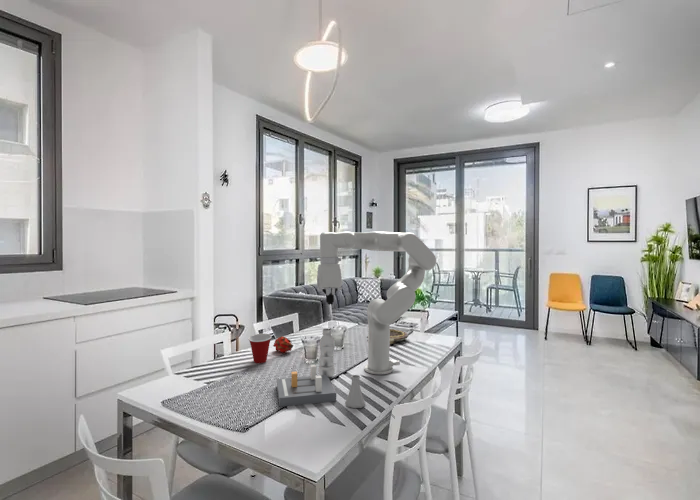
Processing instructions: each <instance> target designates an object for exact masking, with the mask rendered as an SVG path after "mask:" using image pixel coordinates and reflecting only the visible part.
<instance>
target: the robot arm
mask: <svg viewBox="0 0 700 500" xmlns="http://www.w3.org/2000/svg"><path fill="white" fill-rule="evenodd" d="M339 249H341V250H342V249H344V250H351V249H352V250H368V251H374V252H375V251H376V252H405V253H407V254H408V259H407V260H408V263H407V264H408V267H407V270H406V272H405V273H404V275H402V277H401V278H399V279H398V280H397V281H396V282H395V283H393V284H392V285H391V286H390V287H389V288H388V289H387V291H386V297H387V299H386V300H384V299H382V298H374V299H372V300H371V301H369V304H368V305H367V309H366V313H367V327H368V330H367V333H368V335H367V336H368V337H367V364H365V365H364V367H363V368H364V369H363V370H364V371H365V372H366V373H368V374H371V375H378V376H379V375H388V374H391V373H392V372H394V371H393V369H394V368H393V367H394V366H400V365H401V363H400V360H395V359H390V349H391V348H390V347H391V344H390V329H391V327H390V325H391V324H393V323H395V322H396V321H397V320H398V319H400V318H401V317H402V316H403V315H404V314H405V313H406V312H407V311H409V310H410V308H412V306H414V303H415V301H416V297H417V296H416V291H417V290H418V289H419V288H420V286H422V285H423V282H424V279H425V274H426V271H430V270H433V268H435V266H436V264H437V258H436V255H435V253H434V252H433V251H432V250H431V249H430V248H429V246H427V245H426V244H425V242H424V241H423V240H421V239H420V237H418V236H417V235H416V234H415V233H413V232H398V231H397V232H393V231H370V232H369V231H367V232H366V231H365V232H355V231H353V232H351V231H348V230H347V231H340V232H333V231H327V232H326V231H325V232H322V233H320V235H319V254H320V256H319V258H320V262H319V263H320V264H318V266H317V274H316V275H317V276H316V286H317V288H316V290H317V292H323V293H324V294H325V302H326V303H327V305H330V306H331V305H334V304H333V303H334V302H335V294H336V292H338V291H342V290H343V287H342V285H343V279H342V270H341V265H340V264H339V262H342V258H341V257H339ZM329 289H330V290H329Z"/></svg>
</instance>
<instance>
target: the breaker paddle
mask: <svg viewBox="0 0 700 500" xmlns="http://www.w3.org/2000/svg"><path fill="white" fill-rule="evenodd" d="M290 375H291V377H290V378H291V386H292V387H297V377H298V371H291V374H290Z"/></svg>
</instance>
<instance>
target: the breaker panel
mask: <svg viewBox="0 0 700 500" xmlns="http://www.w3.org/2000/svg"><path fill="white" fill-rule="evenodd" d="M309 372H310V376H297V387H292V386H291V377H287V378H286V377H284V378H276V391H277V397H278V405H279V407H280V408H281V407H290V406H301V405H311V404H319V403H329V402H337V390H335V389H336V388H334V385H333V384H332V381H331V380H330V377H329V378H328V376H327V375H319V374H318V375H317V365H316V364H310V371H309Z"/></svg>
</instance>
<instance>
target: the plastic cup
mask: <svg viewBox="0 0 700 500" xmlns="http://www.w3.org/2000/svg"><path fill="white" fill-rule="evenodd" d="M272 336H273V335H272V334H269V333H256V334H252V335H250V336H249V337H248V338H247V339H248V341H249V344H250V348H251V353H252V359H253V363H254V364H265V363H266V362H267V361H268V355H269V350H270V344H271V339H272V338H273V337H272Z"/></svg>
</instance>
